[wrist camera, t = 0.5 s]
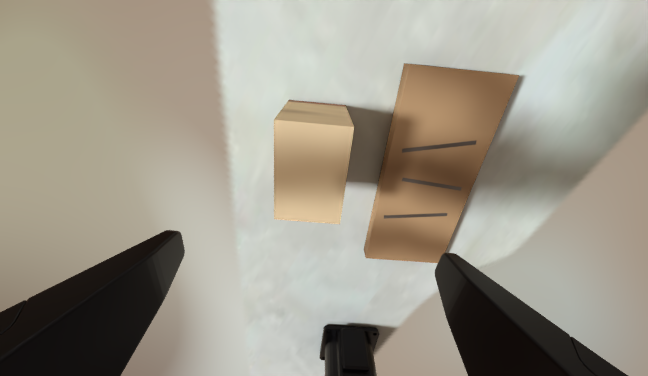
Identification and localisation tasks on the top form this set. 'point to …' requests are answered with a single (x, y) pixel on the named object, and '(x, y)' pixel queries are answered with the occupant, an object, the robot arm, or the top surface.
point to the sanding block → (311, 161)
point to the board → (433, 158)
